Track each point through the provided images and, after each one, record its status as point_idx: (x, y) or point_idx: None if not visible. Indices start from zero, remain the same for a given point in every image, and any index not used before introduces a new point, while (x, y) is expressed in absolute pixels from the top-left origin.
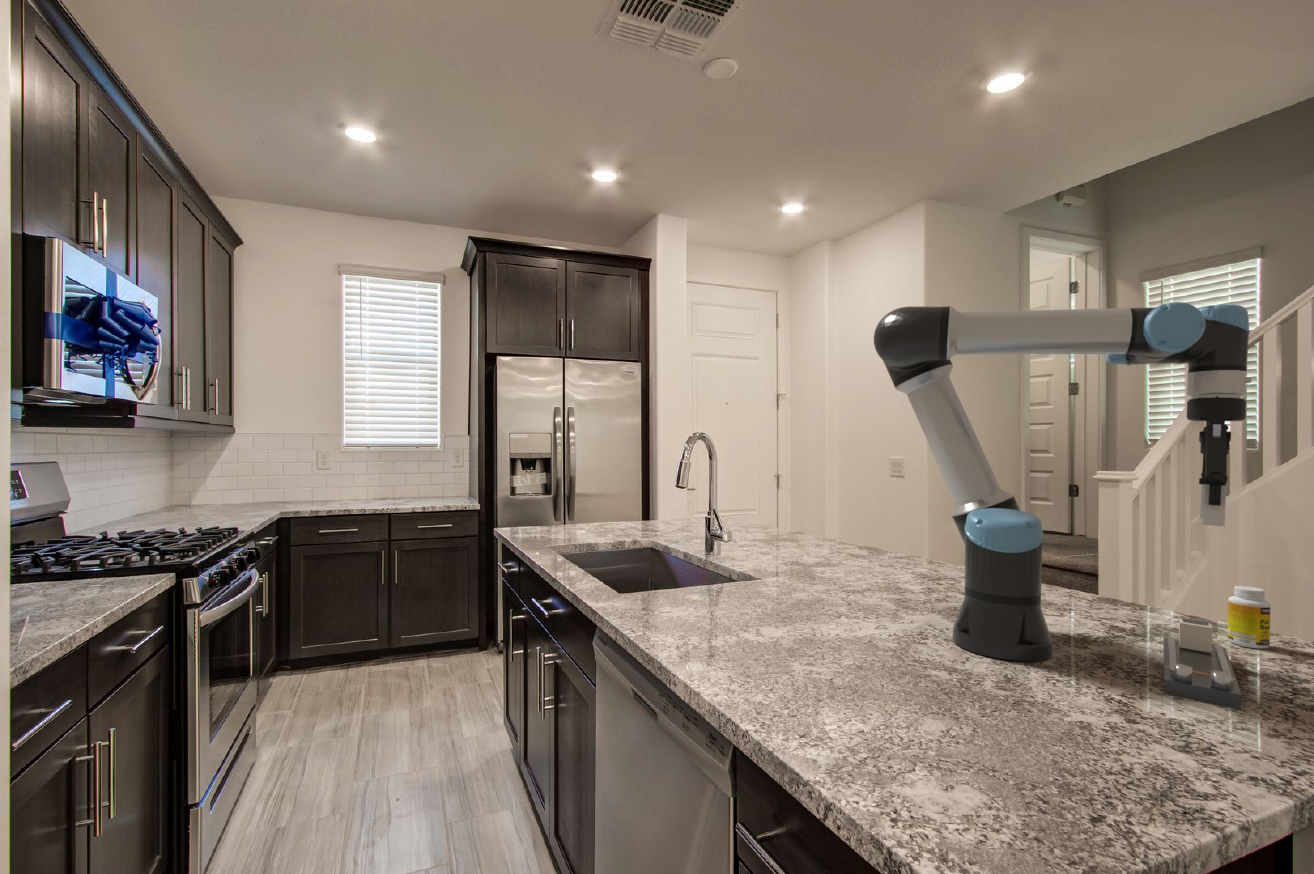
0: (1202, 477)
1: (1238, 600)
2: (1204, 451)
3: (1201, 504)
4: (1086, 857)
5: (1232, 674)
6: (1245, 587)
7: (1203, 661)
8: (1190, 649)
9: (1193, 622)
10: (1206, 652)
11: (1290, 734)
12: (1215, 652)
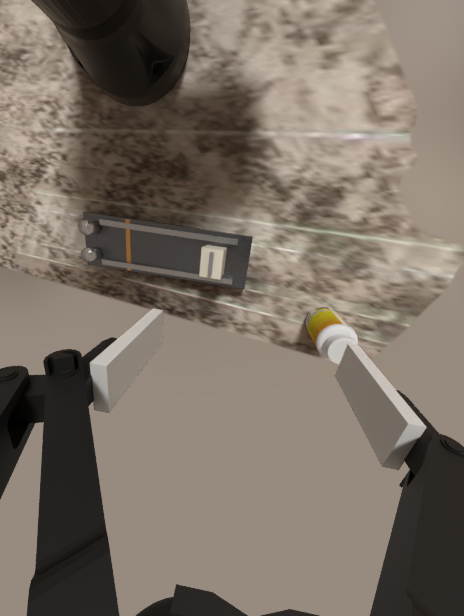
0: (451, 450)
1: (326, 331)
2: (70, 554)
3: (362, 366)
4: None
5: (144, 271)
6: None
7: (173, 257)
8: None
9: (208, 261)
10: None
11: (66, 279)
12: None
